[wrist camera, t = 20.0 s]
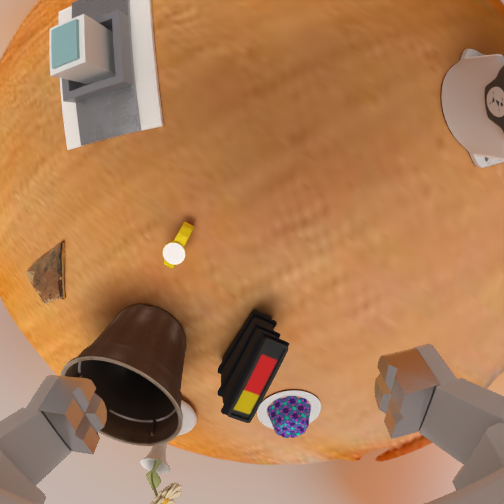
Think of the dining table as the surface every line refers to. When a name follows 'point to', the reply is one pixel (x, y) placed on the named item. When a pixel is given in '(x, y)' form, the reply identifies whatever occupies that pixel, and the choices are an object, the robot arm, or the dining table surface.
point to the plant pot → (137, 375)
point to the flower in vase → (159, 465)
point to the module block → (81, 50)
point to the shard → (49, 275)
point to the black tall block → (250, 366)
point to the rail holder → (115, 77)
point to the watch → (177, 246)
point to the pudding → (289, 412)
